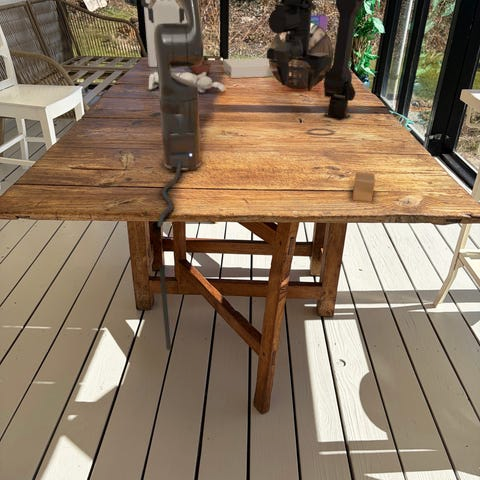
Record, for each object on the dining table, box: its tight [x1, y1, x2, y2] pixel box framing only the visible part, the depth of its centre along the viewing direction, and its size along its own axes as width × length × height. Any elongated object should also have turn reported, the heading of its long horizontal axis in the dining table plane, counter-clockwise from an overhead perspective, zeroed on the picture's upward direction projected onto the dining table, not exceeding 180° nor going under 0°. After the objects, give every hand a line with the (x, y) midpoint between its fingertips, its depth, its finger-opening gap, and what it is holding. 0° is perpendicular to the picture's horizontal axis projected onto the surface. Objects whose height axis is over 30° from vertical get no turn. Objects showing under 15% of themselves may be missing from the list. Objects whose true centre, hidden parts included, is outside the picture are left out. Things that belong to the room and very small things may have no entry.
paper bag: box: [143, 0, 189, 69], centre depth 223 cm, size 19×15×28 cm
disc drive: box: [222, 57, 275, 79], centre depth 214 cm, size 18×22×5 cm
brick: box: [352, 171, 376, 203], centre depth 107 cm, size 5×4×5 cm
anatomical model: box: [187, 55, 212, 76], centre depth 208 cm, size 13×9×15 cm
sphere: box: [269, 22, 334, 91], centre depth 185 cm, size 25×25×25 cm
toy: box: [148, 71, 227, 94], centre depth 184 cm, size 24×25×7 cm
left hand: (166, 22), depth 144 cm, fingers open, 8 cm apart
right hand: (296, 87), depth 137 cm, fingers open, 9 cm apart
